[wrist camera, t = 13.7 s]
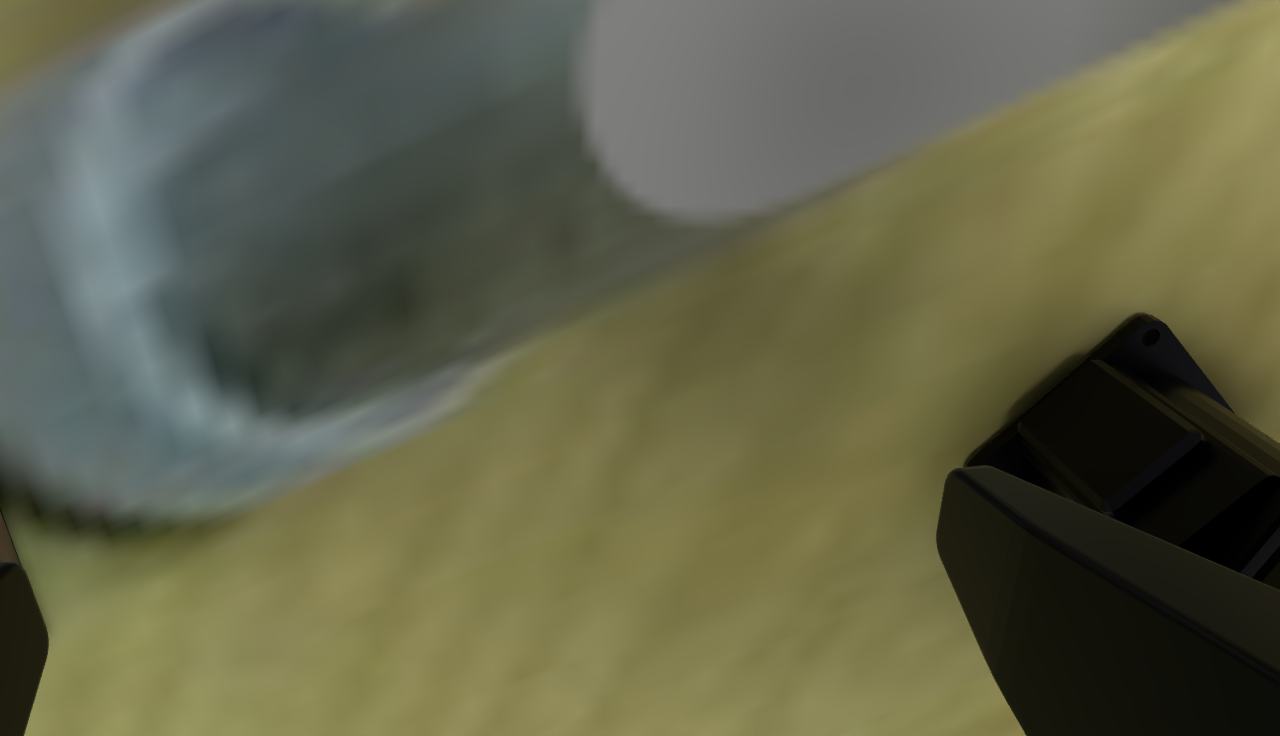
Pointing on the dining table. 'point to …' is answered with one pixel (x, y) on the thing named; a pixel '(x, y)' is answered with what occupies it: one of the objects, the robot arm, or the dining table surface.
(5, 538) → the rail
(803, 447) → the dining table surface
